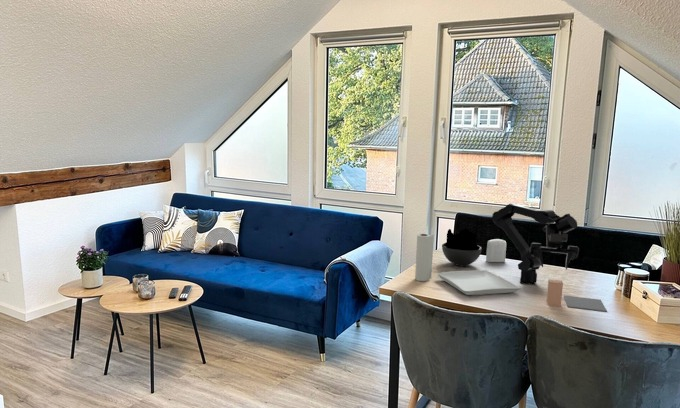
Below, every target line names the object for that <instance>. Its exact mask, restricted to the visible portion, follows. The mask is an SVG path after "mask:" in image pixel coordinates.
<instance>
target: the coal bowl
mask: <svg viewBox="0 0 680 408" xmlns="http://www.w3.org/2000/svg"><path fill="white" fill-rule="evenodd" d="M476 238H477V235H476V233H474V232H472V230H471V231H470V230H469V229H468V228H463V229H462V230H459V233H456V234H454V233H453V232H452V229H451V228H449V229H448V230H447V232H446V242H445V243H443V244H442V245H441V249H442V252H443V255H444V257H445V258H446V260H448V261H449V262H450V263H452V264H454V265H456V266H458V267H459V266H462V267H464V266H469V265H471V264H473V263H474V262H476V261H477V260H478V259H479V258H480V255H481V254H482V251H483V249H482V246H480V245H478V244H477V240H476Z"/></svg>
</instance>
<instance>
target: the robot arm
mask: <svg viewBox="0 0 680 408" xmlns="http://www.w3.org/2000/svg"><path fill="white" fill-rule="evenodd" d="M515 214H517V215H519V216H520V215H521V216H525V217H529V218H531V219H533V220H534V221H536V222H537V223H539V224H541V225H545V226H544V227H543V228H542V229H541V230H542V231H543V232H545V233H546V234H545V236H546V237H545V238H546V241H545V242H546V243H545V245H546V246H542V243H540V242H532V243H531V244H530V245H528V243H527V242H526V240H525V239H524V238H523V236H522V235H521V233H519V232H520V231H518V229H517V228H516V227H515V226H514V224H513V218H512V217H514V215H515ZM491 216H492V217H491V220H492V221H493V223H494V224H495V225H496V226H497V227H498V228H501V229H502V230H503V231H504V232H505V234H506V235H507V236H508V238H509V239H510V241H511V242H512V244H514V246H515V248H516V249H517V250H518V252H519V254H520V259H521V262H520V263H518V264H517V267H518V270H520V278H519V283H520V284H525V285H534V286H535V285H536V284H537V280H538V273H537V270H540V267H542V268H543V267H544V259H543V252H545V253H553V254H554V253H555V254H564V255H566V257H565V267H564V268H565V270H567V269H568V267H569V264H570V262H571V260H572V261H573V260H574V259H577V258H578V256H579V255H580V254H579V253H580V248H579V247H578V246H577V245H576V246H575V245H568V246H567V248H562V247H563V242H565V243H567V241H568V232H569V231H570V232H571V231H572V230H575V229H577V228H578V221H577V219H575V218H574V217H573V216H572V215H571V214H570V213H565V214H563V215H562V216H561V215H560V216H559V215H558V214H556V212H555V211H554V210H553V209H536V208H532V207H529V206H524V205H521V204H518V203H515V202H514V203H509V204H507V205H505V206H504V207H502V208H500V209H498V210H497V211H494V212H493V213H492V215H491ZM546 224H547V225H546Z"/></svg>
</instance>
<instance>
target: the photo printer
mask: <svg viewBox="0 0 680 408" xmlns="http://www.w3.org/2000/svg"><path fill="white" fill-rule="evenodd" d="M506 251H507V242H506V240H504V239H500V238H494V239H490V240H487V245H486V256H485V261H486V262H487V263H505V262H506V255H507V253H506Z"/></svg>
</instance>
